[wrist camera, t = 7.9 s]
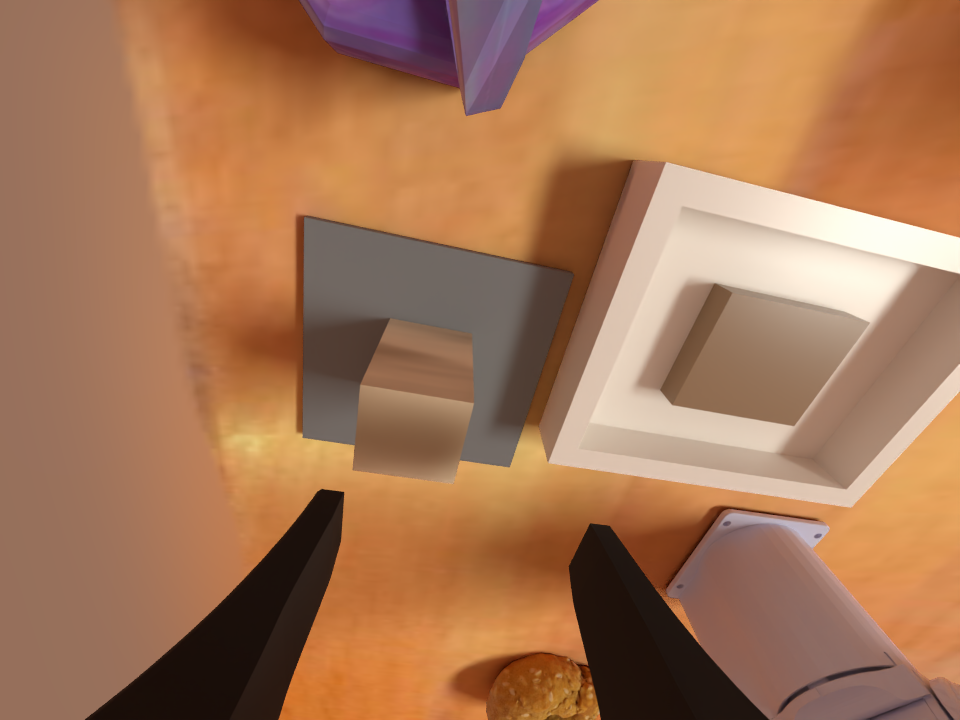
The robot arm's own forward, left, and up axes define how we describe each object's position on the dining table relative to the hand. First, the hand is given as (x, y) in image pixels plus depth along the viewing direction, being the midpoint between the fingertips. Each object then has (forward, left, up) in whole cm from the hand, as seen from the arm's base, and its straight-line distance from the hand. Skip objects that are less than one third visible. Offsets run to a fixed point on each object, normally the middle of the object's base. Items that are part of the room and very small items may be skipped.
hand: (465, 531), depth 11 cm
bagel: (-32, -14, -11) cm, 36 cm away
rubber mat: (0, +2, -10) cm, 11 cm away
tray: (+4, -14, -10) cm, 18 cm away
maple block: (0, +2, -10) cm, 10 cm away
